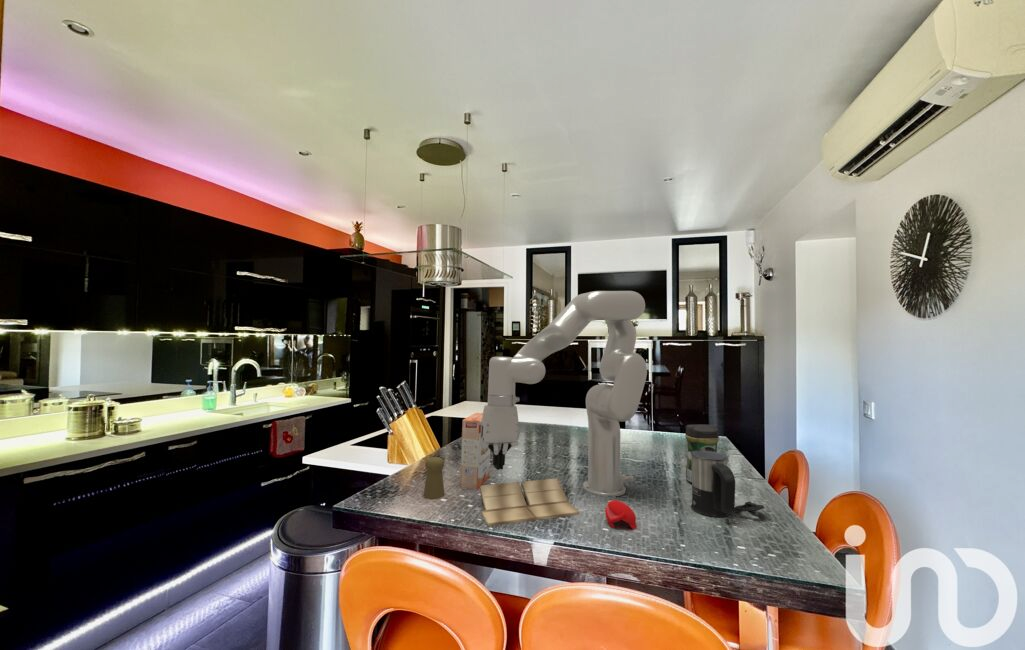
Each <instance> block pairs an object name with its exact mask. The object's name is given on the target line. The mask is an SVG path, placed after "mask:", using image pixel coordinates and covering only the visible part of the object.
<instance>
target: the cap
mask: <svg viewBox="0 0 1025 650" xmlns="http://www.w3.org/2000/svg"><path fill="white" fill-rule="evenodd" d="M604 509H605V518H606V520H607V522H608V525H609V527H610V528H613V529H615V525H614V523H615V522H616V523H617V522H619V521H620V522H621V521H624V522H625V523H628V524H629V527H630V528H631V529H632V530H633V531H634V530H636V529H637V526H638V525H637V523H636V522H637V516H636V514H635V512H634V510H633V509H632V508H631V507H630V506H629V505H628V504H626V503H624V502H623V501H620V500H615V499H613V500H610V501H609V502H608V503H607V505H606V506H605V508H604Z"/></svg>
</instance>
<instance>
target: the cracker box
mask: <svg viewBox="0 0 1025 650" xmlns="http://www.w3.org/2000/svg"><path fill="white" fill-rule="evenodd" d="M482 415H483V412H475V413H473V414H471V415H469V416H467V417H466V418H464V419H462V426H461V427H462V428H461V431H462V432H461V457H460V460H461V461H460V464H461V465H460V484H459V486H460V487H459V488H460V489H464V490H474V491H475V490H476V491H478V490H480V486H482V485H483V484H484V483H485V482H486V481H487V480H488V479H489V478H490V469H491V468H490V467H491V464H490V463H491V462H490V461H491V460H490V459H491V450H490V449H489V448H484V447H481V445H480V443H481V440H482V439H481V437H480V433H481V423H482Z"/></svg>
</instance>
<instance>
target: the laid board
mask: <svg viewBox="0 0 1025 650" xmlns="http://www.w3.org/2000/svg"><path fill="white" fill-rule="evenodd" d="M480 515H481V516H482V518H483V519H484V521H485V523H486V525H487V526H488V527H491V526H492V527H493V526H501V525H508V524H516V523H523V522H531V521H537V520H538V521H539V520H546V519H548V520H549V519H553V518H562V517H569V516H570V517H571V516H577V515H580V511H579V510H578V509H577V508H575V506H574V505H572V504H571V503H570V502H569V500H568V501H564V502H556V503H547V504H539V505H530V506H529V505H527V506H521V507H513V508H504V509H495V510H487V511H485V510H481V511H480Z"/></svg>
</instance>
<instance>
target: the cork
mask: <svg viewBox="0 0 1025 650" xmlns="http://www.w3.org/2000/svg"><path fill="white" fill-rule="evenodd" d="M424 464H425V465H424V466H425V469H426V475H425V482H424V489H423V498H424V499H428V500H437V499H441V498H443V497H444V496H445V486H444V485H445V484H444V478H443V477H444V476H443V469H444V466H445V461H444V459H443V458H442V457H439V456H433V457H432V456H431V457H429V458H427V459H426V461H425V463H424Z"/></svg>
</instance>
